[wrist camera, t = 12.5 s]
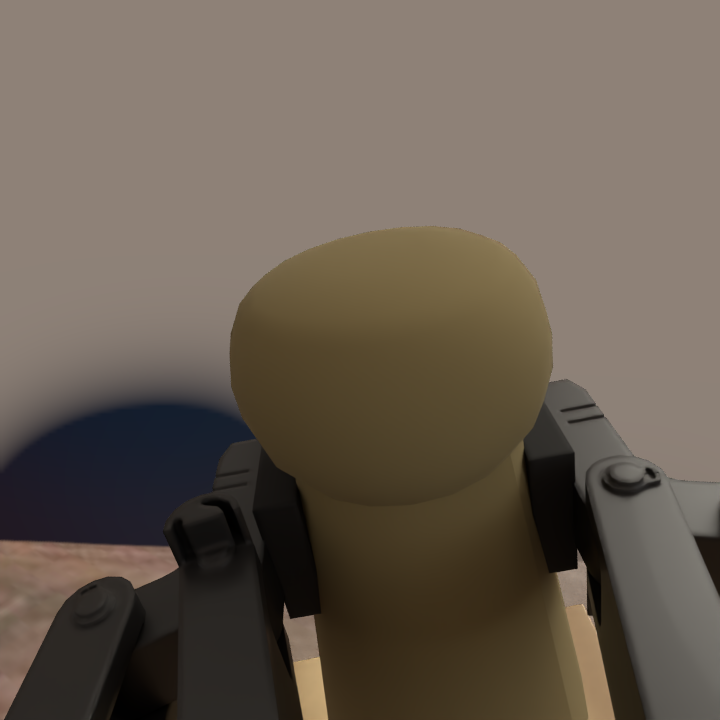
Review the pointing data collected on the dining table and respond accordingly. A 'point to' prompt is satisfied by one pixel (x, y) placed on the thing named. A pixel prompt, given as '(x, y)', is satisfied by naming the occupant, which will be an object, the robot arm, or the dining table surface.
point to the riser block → (584, 646)
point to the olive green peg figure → (414, 470)
